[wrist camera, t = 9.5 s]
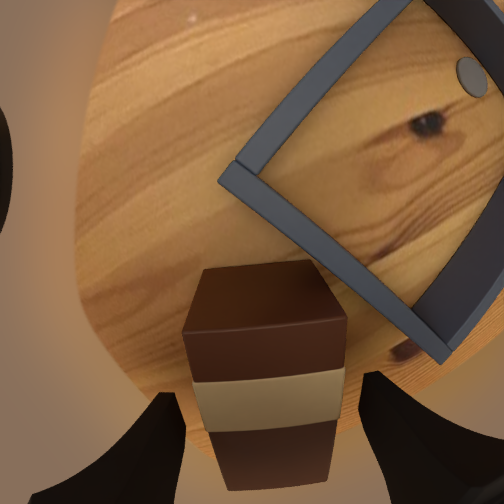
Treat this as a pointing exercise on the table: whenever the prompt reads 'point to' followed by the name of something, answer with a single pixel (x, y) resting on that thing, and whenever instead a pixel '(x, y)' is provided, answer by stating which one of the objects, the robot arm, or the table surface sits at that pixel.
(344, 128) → the table surface
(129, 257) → the table surface
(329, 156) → the table surface
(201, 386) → the brown tan banded block
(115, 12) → the table surface
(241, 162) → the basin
